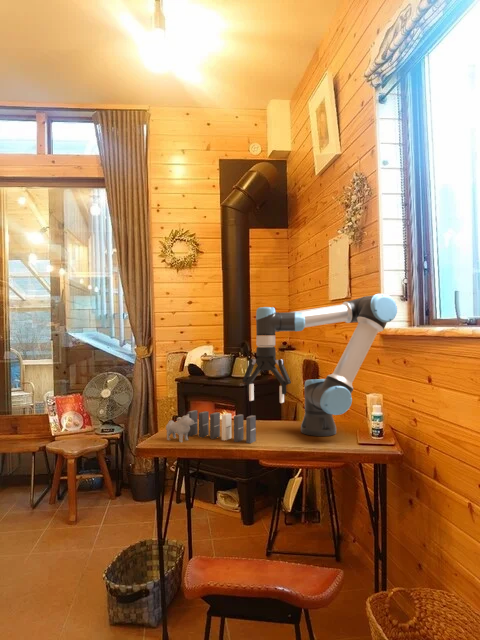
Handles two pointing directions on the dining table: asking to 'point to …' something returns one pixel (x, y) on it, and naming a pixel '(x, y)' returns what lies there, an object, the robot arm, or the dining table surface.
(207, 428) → the domino
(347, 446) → the dining table surface
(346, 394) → the robot arm
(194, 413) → the domino
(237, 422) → the domino
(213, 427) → the domino
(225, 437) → the cream domino
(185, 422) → the grey dog figurine
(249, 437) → the domino
